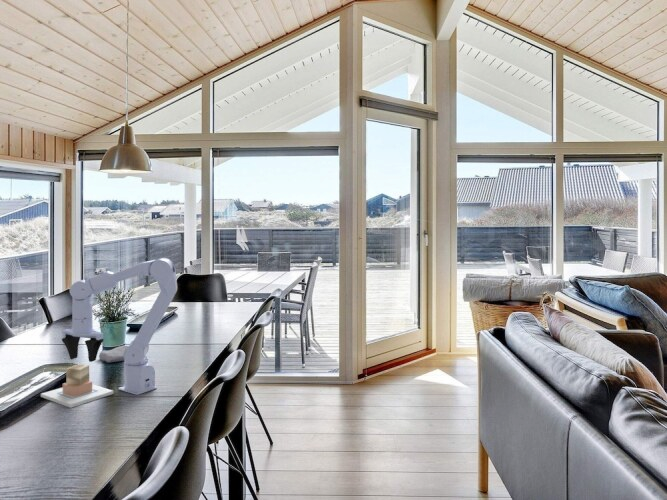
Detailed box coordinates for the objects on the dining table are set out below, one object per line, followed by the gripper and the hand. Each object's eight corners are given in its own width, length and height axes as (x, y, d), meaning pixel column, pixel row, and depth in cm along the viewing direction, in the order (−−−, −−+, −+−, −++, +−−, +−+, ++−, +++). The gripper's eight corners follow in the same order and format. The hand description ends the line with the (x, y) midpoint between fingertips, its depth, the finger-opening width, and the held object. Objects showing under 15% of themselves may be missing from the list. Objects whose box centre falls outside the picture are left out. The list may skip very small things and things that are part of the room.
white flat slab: (113, 393, 154) (113, 381, 154) (70, 407, 142) (70, 394, 142) (83, 384, 162) (83, 372, 162) (40, 396, 150) (40, 384, 150)
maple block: (89, 380, 154) (89, 365, 154) (80, 385, 150) (80, 369, 150) (75, 379, 155) (75, 364, 155) (66, 384, 150) (66, 368, 150)
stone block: (138, 362, 195) (126, 352, 201) (139, 351, 194) (126, 342, 200) (110, 369, 186) (97, 360, 192) (110, 358, 185) (98, 348, 191)
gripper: (110, 317, 156) (110, 358, 157) (75, 313, 161) (75, 354, 161) (93, 321, 149) (93, 364, 150) (56, 317, 154) (57, 359, 155)
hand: (83, 359), depth 155 cm, fingers open, 7 cm apart
